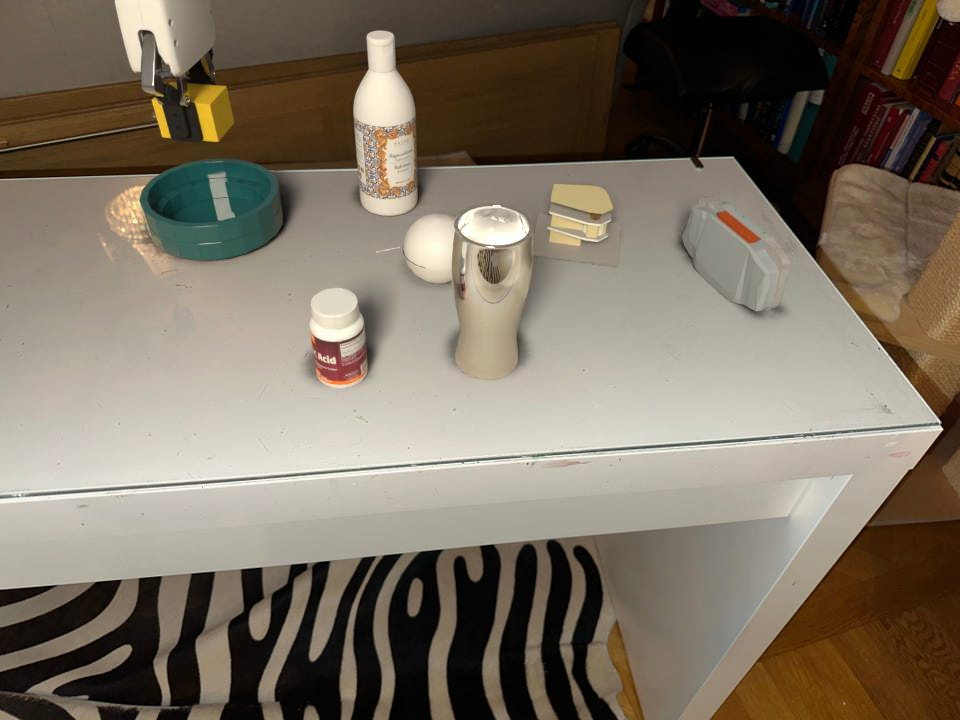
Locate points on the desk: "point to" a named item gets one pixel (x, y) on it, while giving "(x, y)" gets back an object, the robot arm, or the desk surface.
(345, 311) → the pill bottle
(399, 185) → the bath foam
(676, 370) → the desk surface
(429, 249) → the lollipop
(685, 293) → the desk surface
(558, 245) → the stacked layers on plate
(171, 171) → the bowl
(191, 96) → the sponge
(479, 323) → the beer glass
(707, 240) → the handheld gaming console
